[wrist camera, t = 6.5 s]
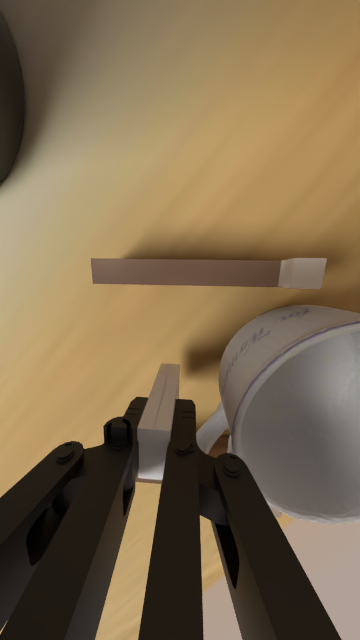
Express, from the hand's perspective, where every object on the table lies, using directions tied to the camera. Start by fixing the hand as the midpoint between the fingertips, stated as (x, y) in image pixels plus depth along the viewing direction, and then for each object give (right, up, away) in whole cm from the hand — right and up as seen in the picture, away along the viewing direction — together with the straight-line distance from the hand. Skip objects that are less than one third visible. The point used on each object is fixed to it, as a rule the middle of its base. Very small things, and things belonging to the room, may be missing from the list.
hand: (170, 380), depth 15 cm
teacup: (+7, +1, +1) cm, 8 cm away
